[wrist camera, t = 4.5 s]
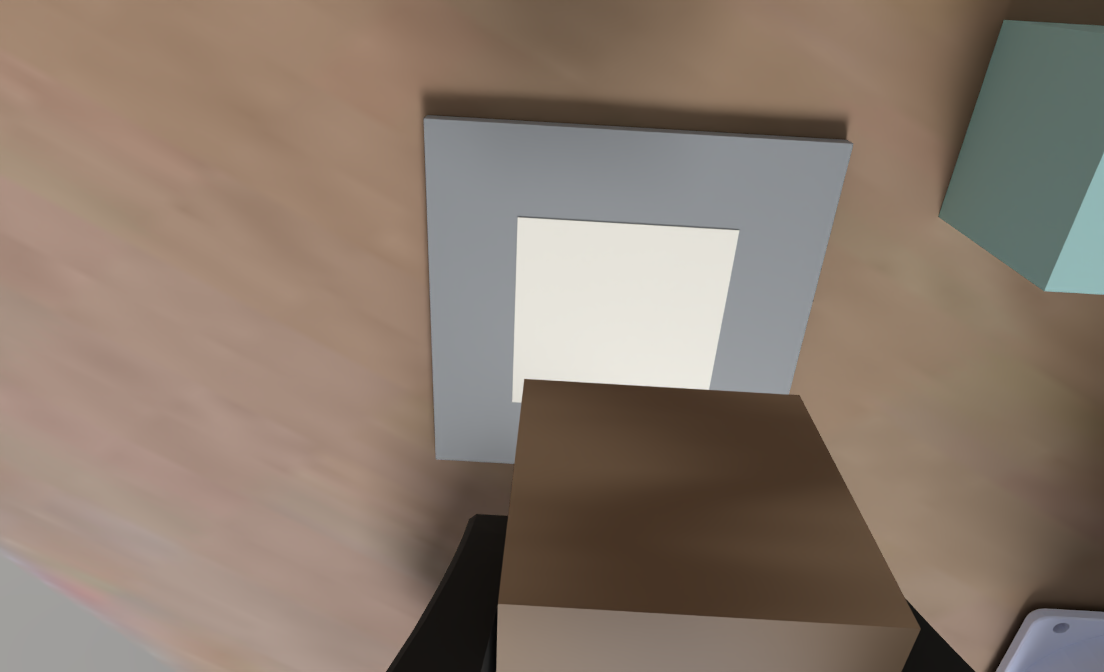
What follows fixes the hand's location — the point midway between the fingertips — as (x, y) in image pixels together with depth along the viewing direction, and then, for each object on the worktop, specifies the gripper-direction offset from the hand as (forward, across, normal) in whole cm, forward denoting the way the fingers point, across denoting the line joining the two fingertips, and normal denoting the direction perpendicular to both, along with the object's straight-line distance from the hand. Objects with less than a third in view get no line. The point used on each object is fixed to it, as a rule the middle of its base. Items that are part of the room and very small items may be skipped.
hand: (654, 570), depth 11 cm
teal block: (+9, -10, -6) cm, 15 cm away
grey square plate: (+9, 0, 0) cm, 9 cm away
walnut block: (+2, 0, 0) cm, 2 cm away
